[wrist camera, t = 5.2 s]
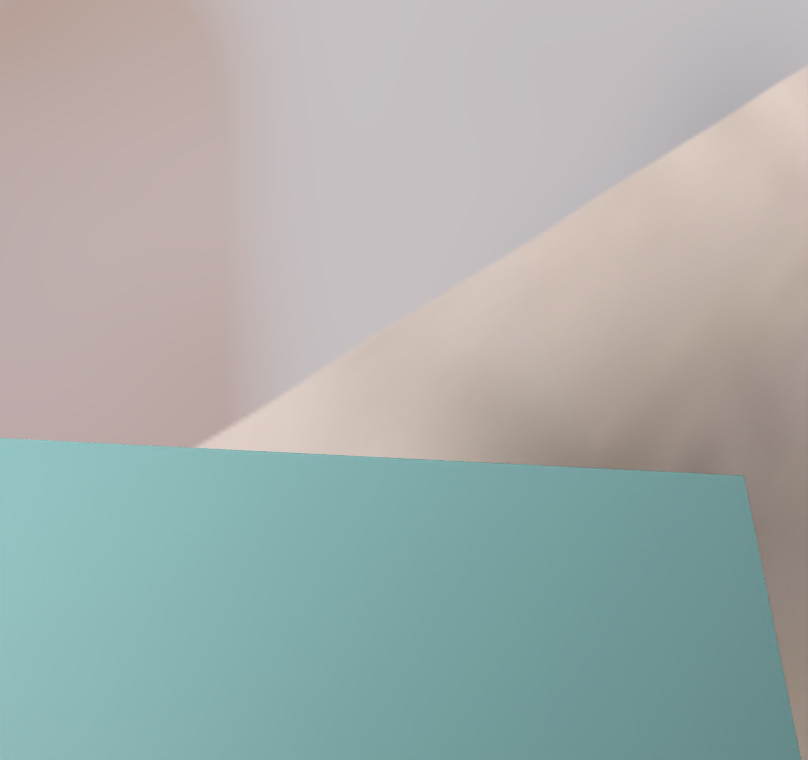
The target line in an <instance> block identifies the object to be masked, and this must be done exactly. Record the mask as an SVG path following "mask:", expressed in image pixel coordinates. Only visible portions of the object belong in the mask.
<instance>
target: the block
mask: <svg viewBox="0 0 808 760" xmlns="http://www.w3.org/2000/svg"><path fill="white" fill-rule="evenodd" d="M0 760H801V757H800V752H799V747H798V742H797V737H796V732H795V727H794V722H793V717H792V712H791V707H790V702H789V697H788V692H787V688H786V683H785V678H784V673H783V668H782V663H781V658H780V653H779V648H778V643H777V638H776V633H775V628H774V623H773V618H772V613H771V608H770V603H769V598H768V593H767V588H766V583H765V578H764V573H763V568H762V563H761V558H760V553H759V548H758V543H757V538H756V533H755V528H754V523H753V519H752V514H751V509H750V504H749V499H748V494H747V489H746V484H745V479H744V476H741V475H722V474H702V473H682V472H662V471H642V470H622V469H603V468H583V467H563V466H543V465H523V464H503V463H483V462H464V461H444V460H424V459H404V458H384V457H364V456H345V455H325V454H305V453H285V452H265V451H245V450H225V449H206V448H186V447H165V446H146V445H126V444H106V443H85V442H67V441H47V440H26V439H6V438H0Z"/></svg>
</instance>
